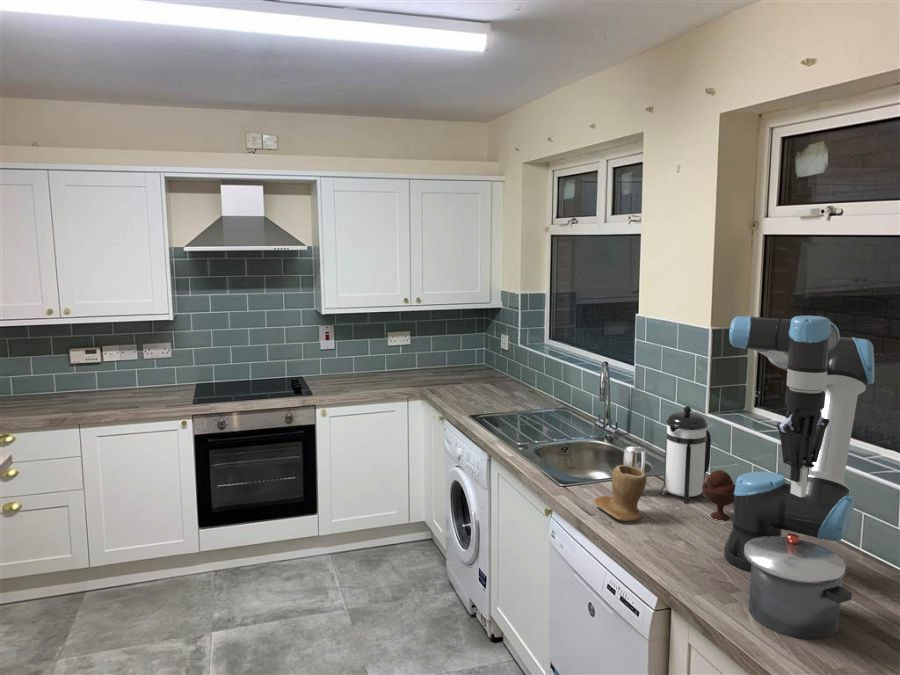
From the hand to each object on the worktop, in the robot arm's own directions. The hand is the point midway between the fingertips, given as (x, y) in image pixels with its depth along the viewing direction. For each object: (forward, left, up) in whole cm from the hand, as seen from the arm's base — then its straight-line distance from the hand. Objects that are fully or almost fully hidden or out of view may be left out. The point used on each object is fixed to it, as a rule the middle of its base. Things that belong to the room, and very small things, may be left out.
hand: (798, 494), depth 149 cm
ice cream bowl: (-53, -15, -29) cm, 62 cm away
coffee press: (-69, -26, -29) cm, 79 cm away
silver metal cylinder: (-64, -42, -29) cm, 82 cm away
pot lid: (0, 0, -15) cm, 15 cm away
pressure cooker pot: (-1, +1, -29) cm, 29 cm away
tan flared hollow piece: (-45, -43, -29) cm, 69 cm away
